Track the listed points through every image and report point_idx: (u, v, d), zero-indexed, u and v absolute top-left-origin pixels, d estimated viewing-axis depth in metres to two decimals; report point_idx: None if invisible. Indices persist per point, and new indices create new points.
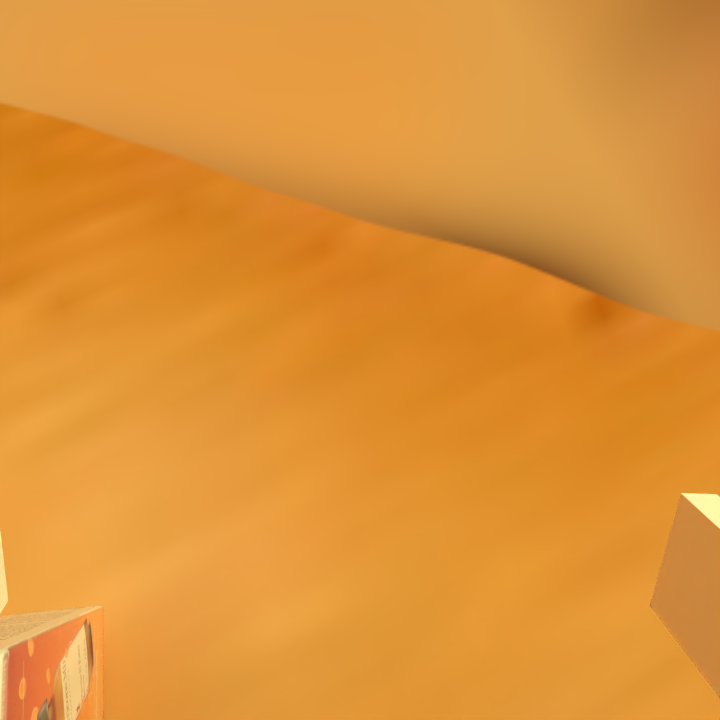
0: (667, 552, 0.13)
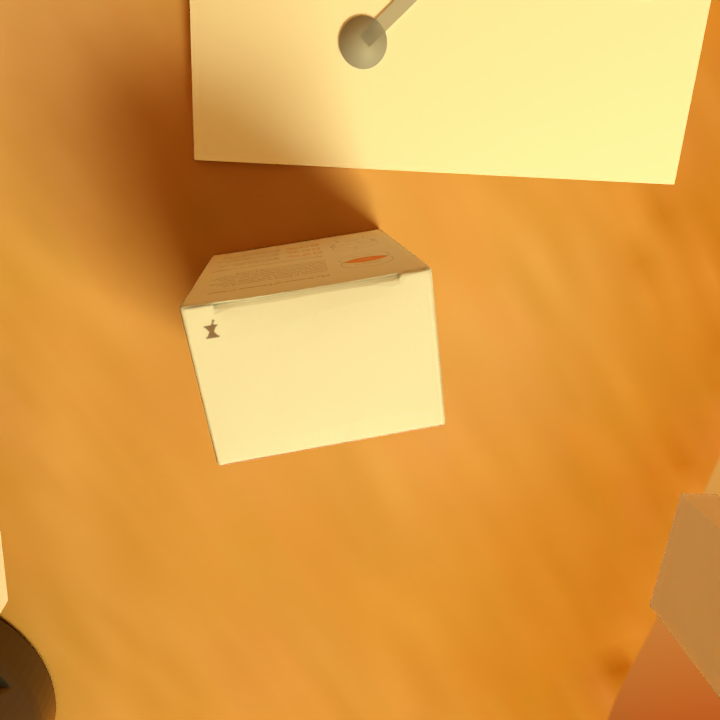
0: (666, 552, 0.13)
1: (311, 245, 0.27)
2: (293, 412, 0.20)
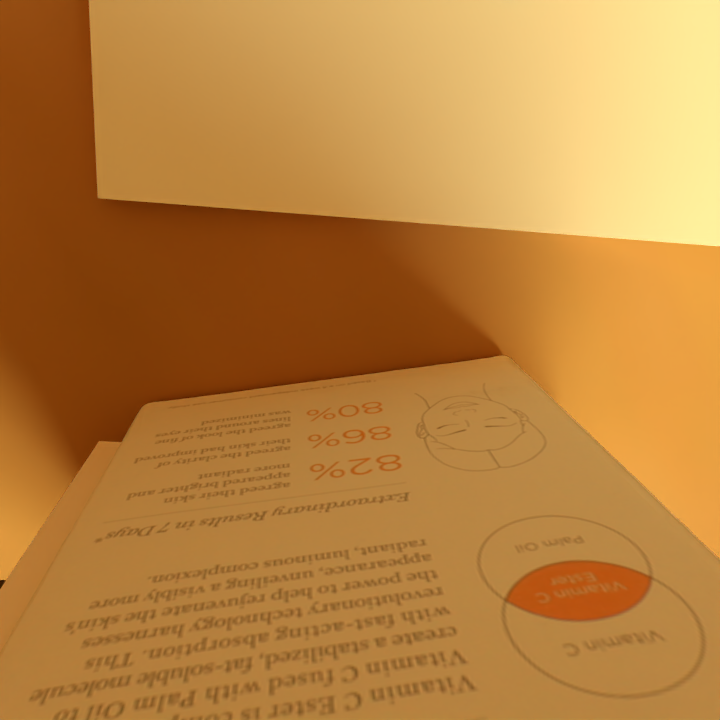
0: None
1: (365, 408, 0.12)
2: None
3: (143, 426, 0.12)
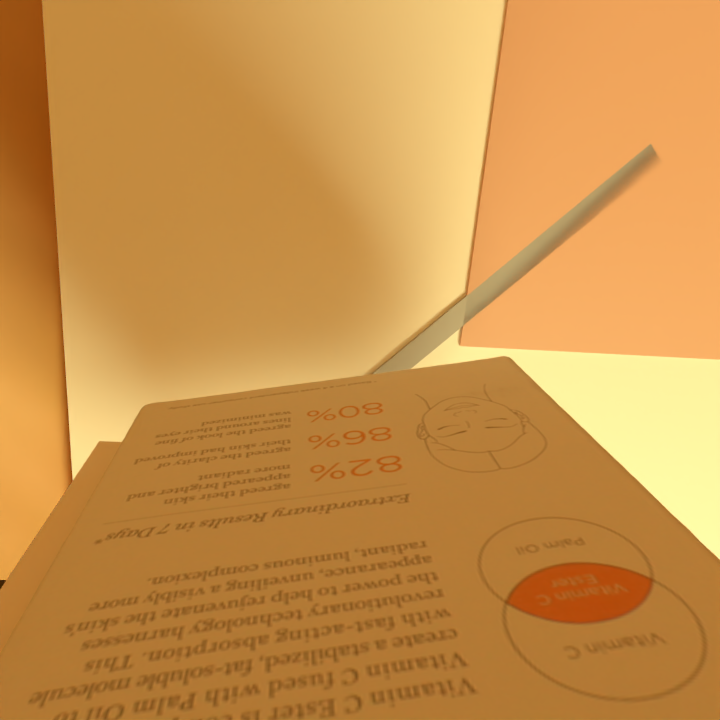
0: None
1: (365, 408, 0.12)
2: None
3: (143, 427, 0.12)
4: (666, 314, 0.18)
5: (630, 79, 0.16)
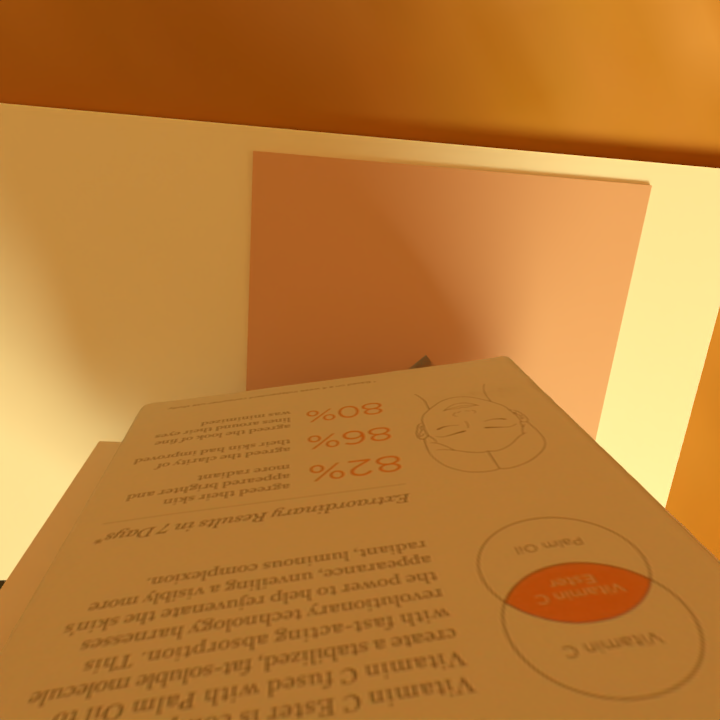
0: None
1: (364, 409, 0.12)
2: None
3: (143, 427, 0.12)
4: None
5: (396, 293, 0.15)
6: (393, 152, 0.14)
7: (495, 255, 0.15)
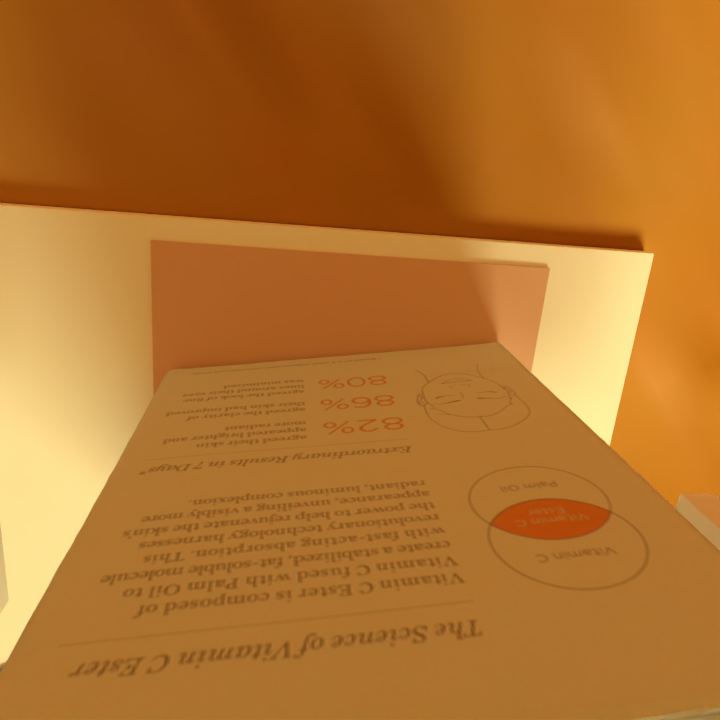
0: None
1: (370, 380, 0.13)
2: None
3: (170, 388, 0.13)
4: None
5: None
6: (291, 239, 0.14)
7: (398, 335, 0.15)
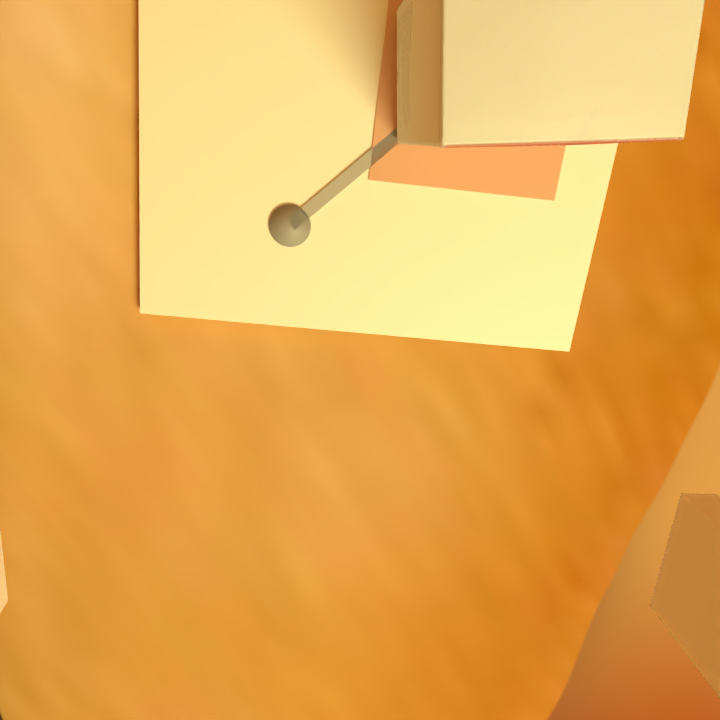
0: (667, 552, 0.13)
1: None
2: (534, 92, 0.19)
3: None
4: (494, 167, 0.30)
5: None
6: None
7: None
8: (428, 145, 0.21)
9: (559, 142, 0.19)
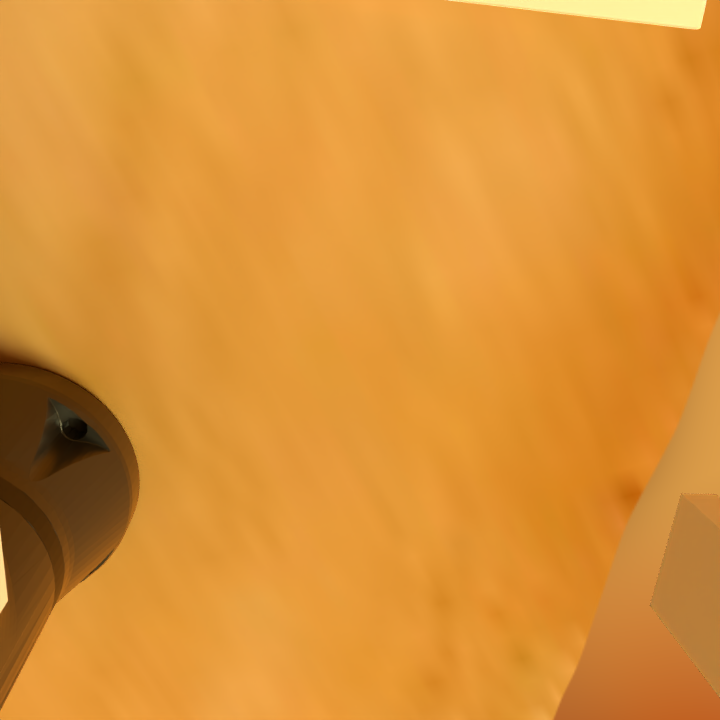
0: (667, 552, 0.13)
1: None
2: None
3: None
4: None
5: None
6: None
7: None
8: None
9: None
